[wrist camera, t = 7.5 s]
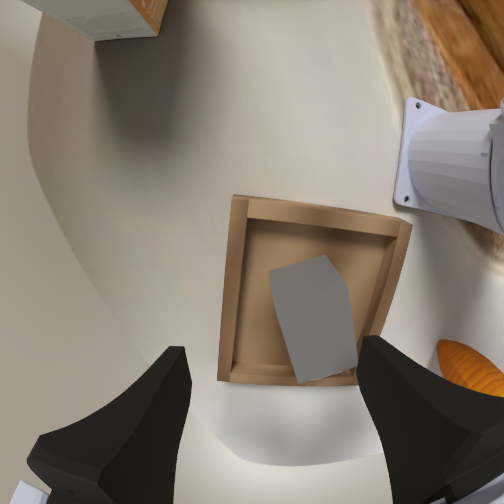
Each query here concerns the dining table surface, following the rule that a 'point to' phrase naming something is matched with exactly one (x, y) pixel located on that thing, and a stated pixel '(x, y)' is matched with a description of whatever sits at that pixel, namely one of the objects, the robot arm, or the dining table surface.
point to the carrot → (469, 368)
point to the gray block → (314, 318)
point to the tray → (292, 251)
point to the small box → (106, 16)
